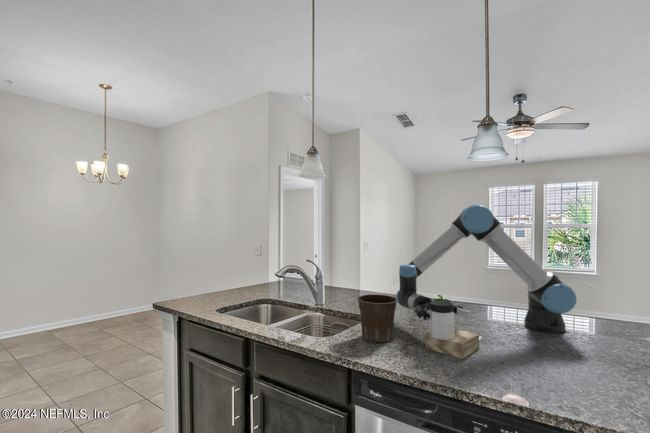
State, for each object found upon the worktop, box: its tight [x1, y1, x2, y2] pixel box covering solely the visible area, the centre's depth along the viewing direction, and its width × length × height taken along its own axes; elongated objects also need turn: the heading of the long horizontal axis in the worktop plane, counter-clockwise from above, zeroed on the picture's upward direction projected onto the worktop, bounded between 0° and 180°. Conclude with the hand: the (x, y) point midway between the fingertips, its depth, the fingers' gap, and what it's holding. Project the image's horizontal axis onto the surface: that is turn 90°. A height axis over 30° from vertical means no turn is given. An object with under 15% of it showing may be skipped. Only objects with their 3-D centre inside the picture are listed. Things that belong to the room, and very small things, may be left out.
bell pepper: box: [433, 294, 452, 303], centre depth 166 cm, size 8×8×10 cm
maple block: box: [424, 328, 480, 360], centre depth 122 cm, size 14×14×5 cm
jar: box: [428, 300, 456, 340], centre depth 120 cm, size 9×8×12 cm
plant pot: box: [357, 293, 398, 344], centre depth 133 cm, size 16×16×16 cm
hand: (454, 317), depth 120 cm, fingers open, 13 cm apart
